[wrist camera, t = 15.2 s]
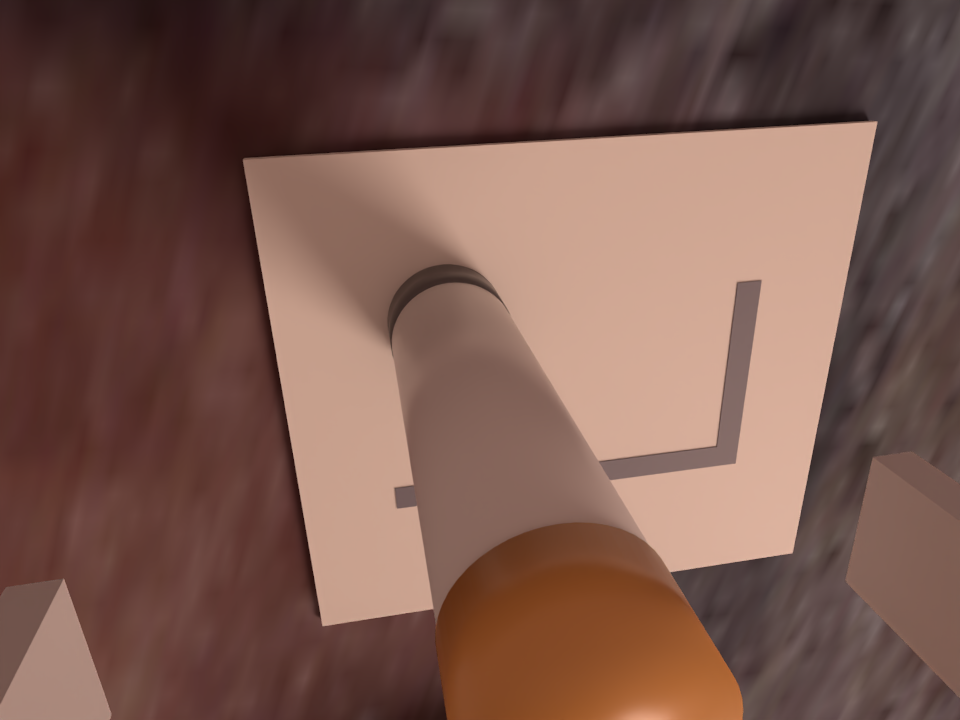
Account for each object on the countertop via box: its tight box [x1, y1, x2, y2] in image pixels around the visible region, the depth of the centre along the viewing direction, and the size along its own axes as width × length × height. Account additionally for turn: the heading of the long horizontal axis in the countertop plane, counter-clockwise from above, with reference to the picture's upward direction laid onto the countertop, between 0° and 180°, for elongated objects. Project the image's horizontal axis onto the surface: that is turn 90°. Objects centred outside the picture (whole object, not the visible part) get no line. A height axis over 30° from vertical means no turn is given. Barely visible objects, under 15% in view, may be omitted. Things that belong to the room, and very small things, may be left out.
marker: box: [388, 264, 743, 720], centre depth 15 cm, size 4×4×14 cm
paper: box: [243, 121, 877, 626], centre depth 23 cm, size 18×16×1 cm
